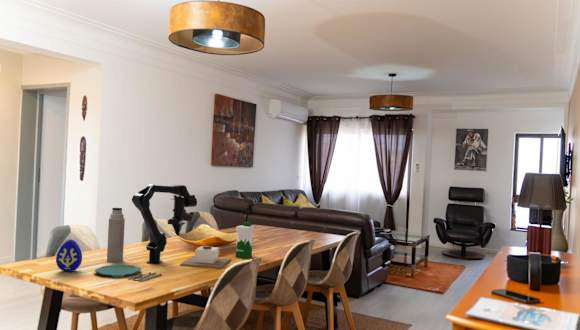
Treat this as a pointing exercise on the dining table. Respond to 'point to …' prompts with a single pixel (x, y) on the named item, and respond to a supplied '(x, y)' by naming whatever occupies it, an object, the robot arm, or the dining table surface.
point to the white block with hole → (206, 255)
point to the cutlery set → (123, 272)
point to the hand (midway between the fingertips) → (177, 235)
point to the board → (218, 264)
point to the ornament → (69, 256)
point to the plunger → (207, 247)
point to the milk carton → (244, 240)
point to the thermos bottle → (115, 236)
